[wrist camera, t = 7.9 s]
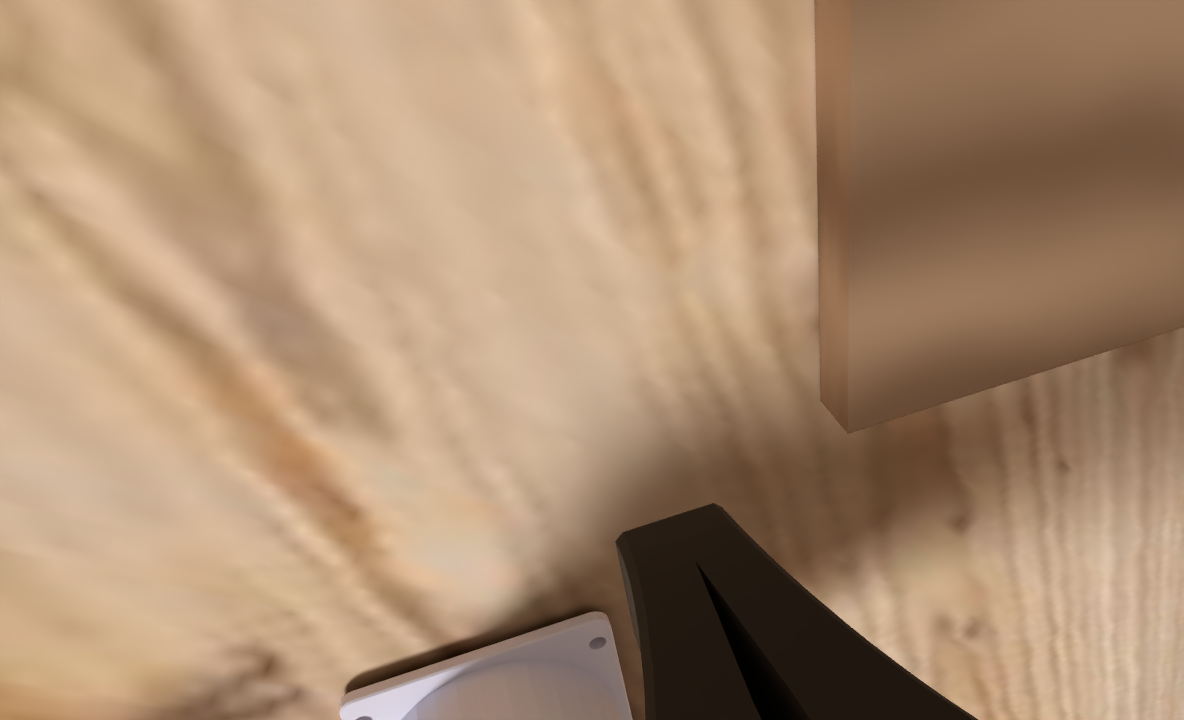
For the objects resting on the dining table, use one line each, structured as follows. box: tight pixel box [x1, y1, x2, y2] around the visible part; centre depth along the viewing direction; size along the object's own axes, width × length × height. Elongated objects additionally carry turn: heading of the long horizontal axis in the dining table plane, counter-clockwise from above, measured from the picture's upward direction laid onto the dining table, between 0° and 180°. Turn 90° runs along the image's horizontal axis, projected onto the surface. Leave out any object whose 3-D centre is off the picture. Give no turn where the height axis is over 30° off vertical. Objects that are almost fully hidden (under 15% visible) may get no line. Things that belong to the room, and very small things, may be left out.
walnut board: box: [815, 0, 1184, 433], centre depth 22 cm, size 11×10×2 cm
